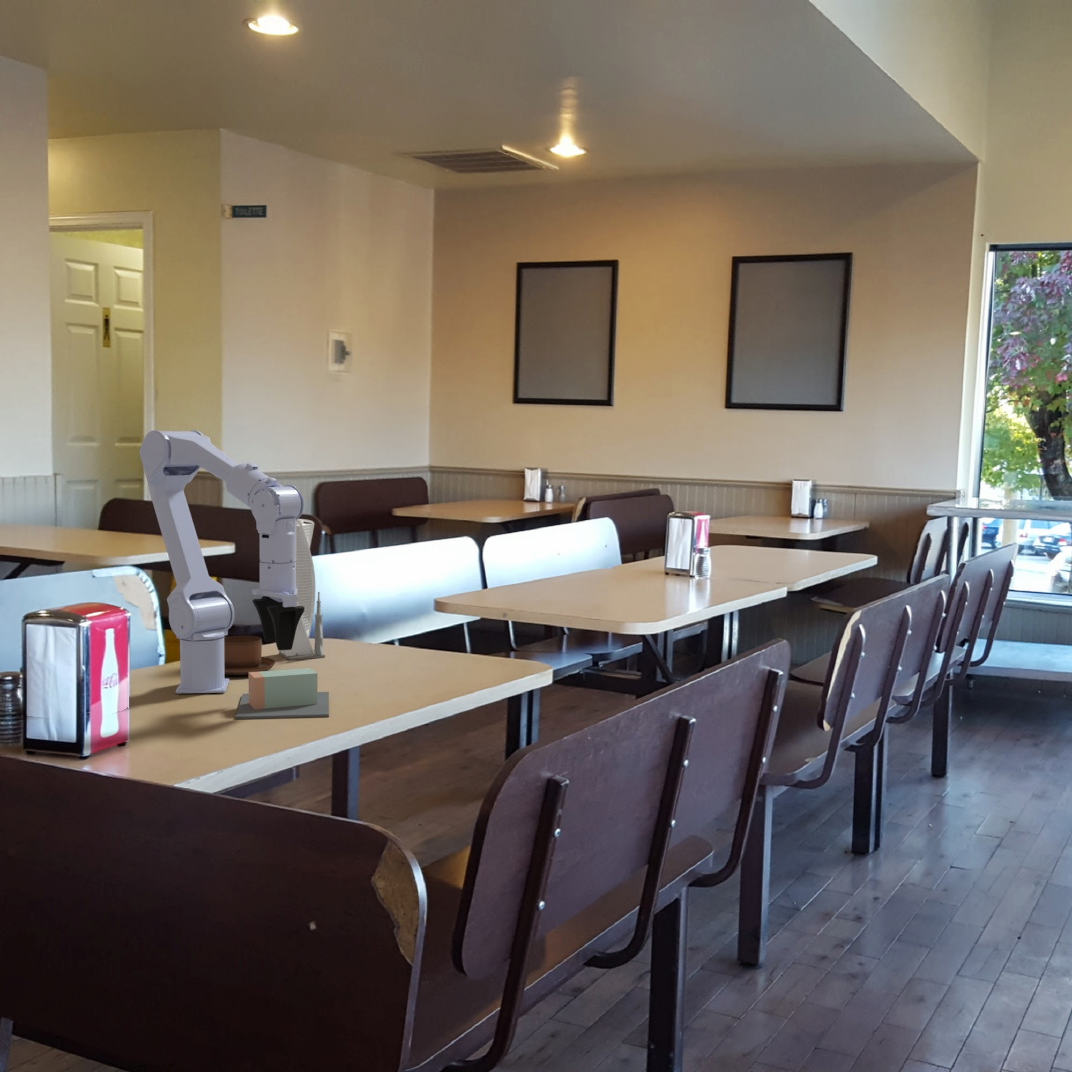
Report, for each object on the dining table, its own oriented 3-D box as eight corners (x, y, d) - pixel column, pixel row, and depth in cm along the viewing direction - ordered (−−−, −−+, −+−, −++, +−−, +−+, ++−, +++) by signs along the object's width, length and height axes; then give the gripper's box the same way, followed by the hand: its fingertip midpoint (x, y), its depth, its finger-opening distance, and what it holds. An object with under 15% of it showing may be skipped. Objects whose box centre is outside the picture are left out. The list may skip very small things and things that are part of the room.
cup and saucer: (193, 676, 217) (193, 642, 217) (228, 664, 229) (227, 631, 228) (254, 681, 214) (254, 646, 213) (286, 668, 225) (286, 635, 225)
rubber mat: (242, 695, 202) (242, 693, 202) (328, 694, 204) (328, 691, 204) (235, 719, 186) (235, 716, 186) (328, 716, 188) (328, 714, 188)
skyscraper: (282, 660, 232) (281, 513, 229) (269, 653, 239) (269, 510, 236) (324, 657, 236) (324, 512, 233) (311, 650, 243) (311, 509, 240)
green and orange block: (310, 698, 199) (310, 667, 199) (317, 704, 195) (317, 673, 195) (248, 703, 195) (248, 672, 194) (254, 709, 191) (254, 677, 190)
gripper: (241, 557, 199) (242, 639, 201) (264, 567, 187) (265, 655, 188) (284, 556, 203) (284, 637, 204) (309, 565, 190) (309, 652, 191)
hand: (278, 645), depth 196 cm, fingers open, 7 cm apart
